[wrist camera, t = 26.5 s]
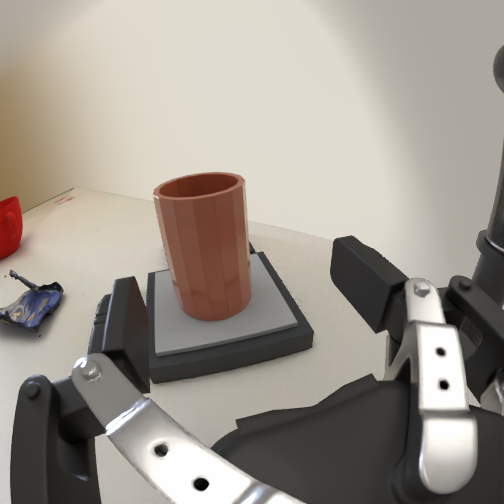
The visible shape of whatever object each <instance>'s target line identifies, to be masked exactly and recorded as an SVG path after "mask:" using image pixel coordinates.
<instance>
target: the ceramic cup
mask: <svg viewBox="0 0 504 504" xmlns="http://www.w3.org/2000/svg"><path fill="white" fill-rule="evenodd" d="M22 228H23V225H22V215H21V209H20V205H19V201H18V197H17V196H14V197H11V198H8V199H5V200H3V201H1V202H0V259H2V258H5V257H7V256H9V255H10V254H12V253H13V252H15V251H16V250H17V249H18V247H19V246H20V240H21V236H22Z"/></svg>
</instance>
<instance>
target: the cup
mask: <svg viewBox="0 0 504 504" xmlns="http://www.w3.org/2000/svg"><path fill="white" fill-rule="evenodd" d="M153 197H154V203H155V208H156V213H157V218H158V223H159V228H160V232H161V237H162V241H163V246H164V250H165V255H166V259H167V263H168V267H169V271H170V275H171V279H172V283H173V287H174V290H175V294H176V298H177V301H178V303H179V306H180V308H181V309H182V311H183V312H184V313H185V314H187V315H188V316H190V317H192V318H195V319H198V320H203V321H217V320H223V319H226V318H229V317H232V316H234V315H236V314H238V313H239V312H241V311H242V310H243V309H244V308H245V307H246V306H247V305H248V303H249V301H250V299H251V295H252V291H251V289H252V282H251V266H250V251H249V235H248V220H247V204H246V190H245V180H244V179H243V178H242V177H241V176H240V175H236V174H232V173H223V172H212V173H211V172H210V173H199V174H193V175H187V176H183V177H179V178H176V179H172V180H170V181H167V182H165V183H163V184H161V185H159V186H158V187H157V188H155V189H154V193H153Z"/></svg>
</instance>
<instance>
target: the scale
mask: <svg viewBox="0 0 504 504" xmlns="http://www.w3.org/2000/svg"><path fill="white" fill-rule="evenodd" d="M250 266H251V282H252V289H251V291H252V295H251V299H250V301H249V303H248V305H247V306H246V307H245V308H244V309H243V310H242V311H241V312H239V313H238V314H236V315H234V316H232V317H229V318H226V319H223V320H217V321H203V320H198V319H195V318H192V317H190V316H188V315H187V314H185V313H184V312H183V311H182V309H181V308H180V306H179V303H178V301H177V298H176V294H175V290H174V287H173V283H172V279H171V275H170V271H169V269H168V270H162V271H157V272H152V273H148V281H147V297H146V310H147V313H148V319H149V376H150V378H151V380H152V382H153V383H160V382H167V381H173V380H179V379H185V378H191V377H196V376H202V375H207V374H212V373H217V372H221V371H226V370H230V369H235V368H239V367H243V366H248V365H252V364H256V363H259V362H263V361H267V360H271V359H274V358H278V357H282V356H285V355H289V354H292V353H295V352H299V351H302V350H305V349H308V348H311V347H312V341H313V335H314V331H313V329H312V328H311V326H310V324H309V323H308V321H307V320H306V318H305V317H304V315H303V313H302V312H301V310H300V309H299V307H298V306H297V304H296V302H295V301H294V299H293V298H292V296H291V295H290V293H289V291H288V290H287V288H286V287H285V285H284V284H283V282H282V280H281V279H280V277H279V276H278V274H277V273H276V271H275V270H274V268H273V266H272V265H271V263H270V262H269V260H268V259H267V257H266V256H265V254H264V252H258V253H252V254H250Z"/></svg>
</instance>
